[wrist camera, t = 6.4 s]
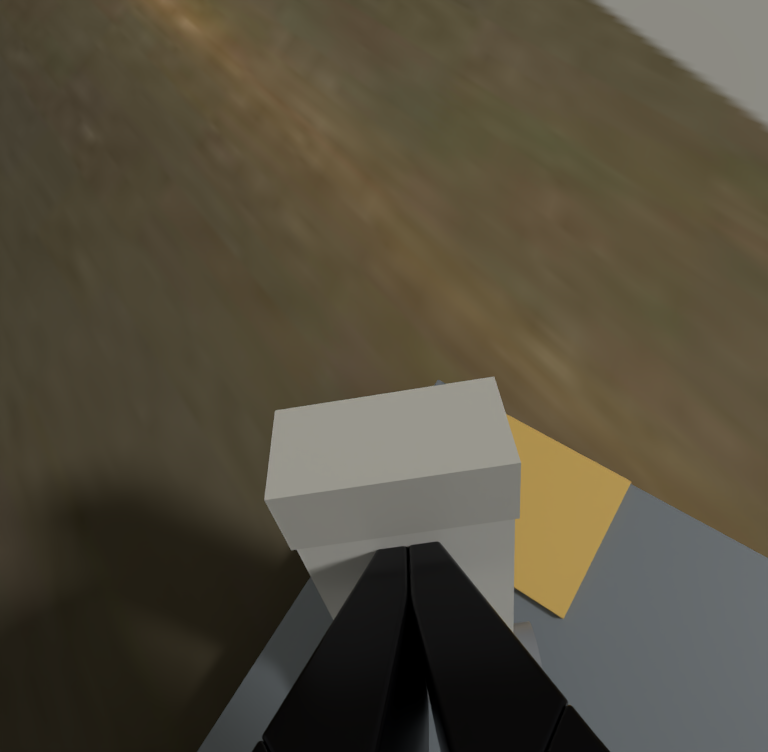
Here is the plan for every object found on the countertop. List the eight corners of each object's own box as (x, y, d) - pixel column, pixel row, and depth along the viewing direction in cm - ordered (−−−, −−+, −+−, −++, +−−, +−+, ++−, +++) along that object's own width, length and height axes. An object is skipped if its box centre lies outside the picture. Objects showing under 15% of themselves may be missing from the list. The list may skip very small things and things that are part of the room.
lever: (543, 700, 12) (576, 454, 6) (354, 722, 13) (212, 507, 7) (527, 633, 14) (541, 368, 7) (352, 655, 14) (230, 417, 8)
